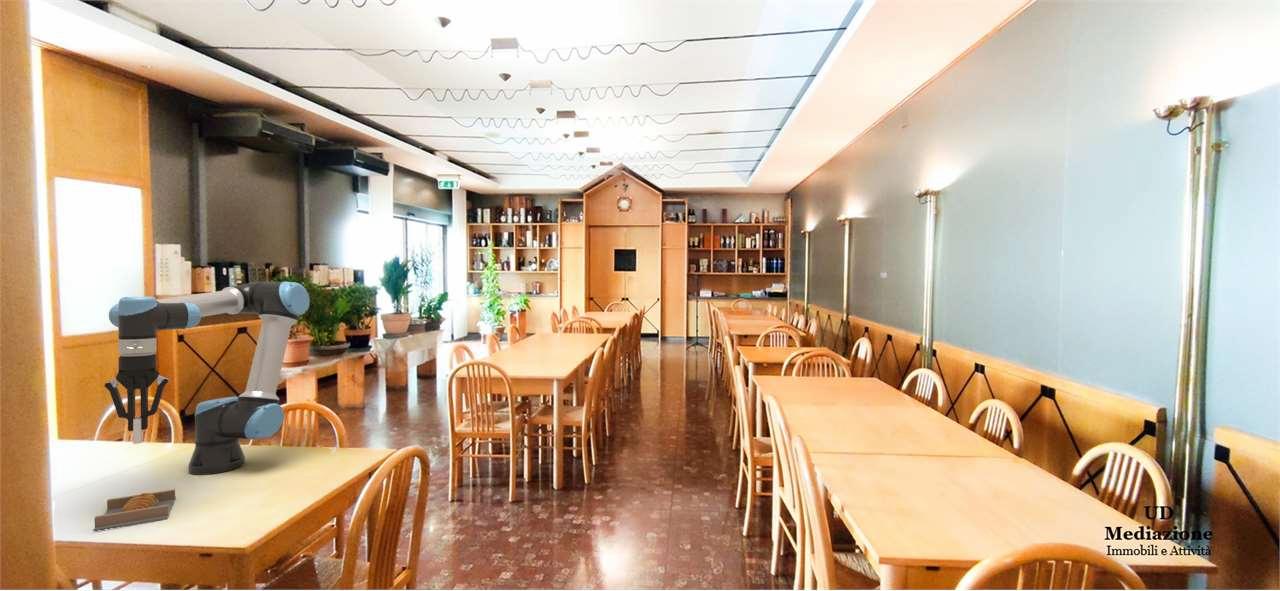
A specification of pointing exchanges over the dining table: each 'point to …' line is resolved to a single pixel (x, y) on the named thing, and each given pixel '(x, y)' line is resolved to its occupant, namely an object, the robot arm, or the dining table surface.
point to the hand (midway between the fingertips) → (138, 442)
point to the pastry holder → (135, 511)
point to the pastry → (140, 502)
